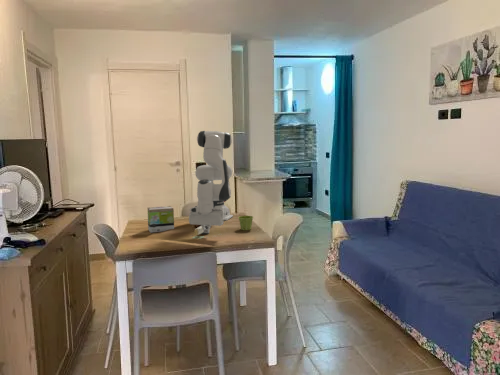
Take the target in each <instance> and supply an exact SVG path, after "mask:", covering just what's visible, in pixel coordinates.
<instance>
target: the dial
mask: <svg viewBox="0 0 500 375" xmlns="http://www.w3.org/2000/svg"><path fill="white" fill-rule="evenodd" d="M219 235H221V236H222V235H223V234H222V233H219ZM192 236H193V235H191V237H192ZM214 237H215V238H216V237H217V235H214ZM203 238H206V239H208V236H206V237H205V236H204V235H203V236H199V235H194V236H193V237H192V239H196V240H197V239H199V240H200V239H201V240H202V239H203Z"/></svg>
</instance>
